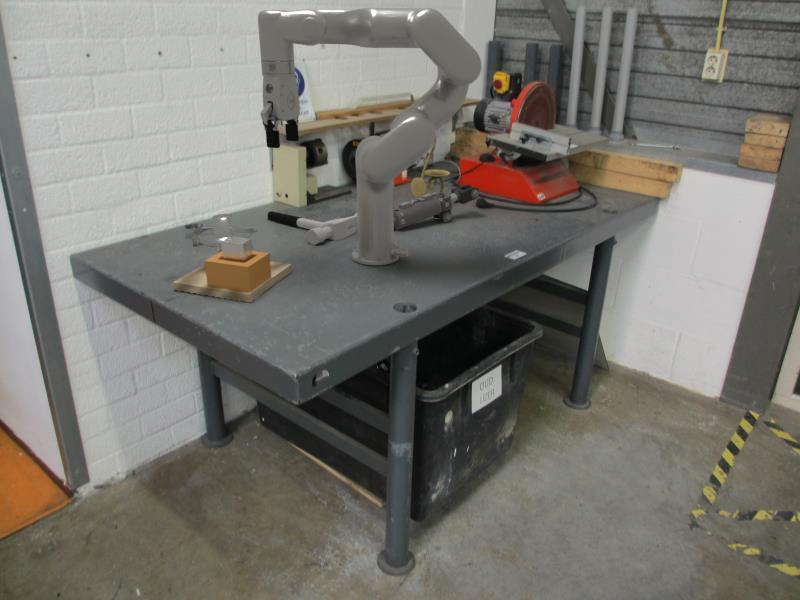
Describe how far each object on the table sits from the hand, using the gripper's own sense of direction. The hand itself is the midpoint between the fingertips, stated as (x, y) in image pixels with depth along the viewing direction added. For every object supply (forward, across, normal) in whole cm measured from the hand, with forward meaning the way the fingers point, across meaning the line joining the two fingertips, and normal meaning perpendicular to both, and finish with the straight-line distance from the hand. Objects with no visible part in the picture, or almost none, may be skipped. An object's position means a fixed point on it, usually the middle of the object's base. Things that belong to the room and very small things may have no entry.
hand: (283, 144), depth 152 cm
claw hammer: (+31, +28, +8) cm, 43 cm away
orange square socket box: (+30, -17, +6) cm, 35 cm away
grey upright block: (+28, -21, +2) cm, 35 cm away
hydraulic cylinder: (+31, +46, -24) cm, 61 cm away
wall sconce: (+31, +67, -19) cm, 76 cm away
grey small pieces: (+31, +11, +26) cm, 41 cm away
